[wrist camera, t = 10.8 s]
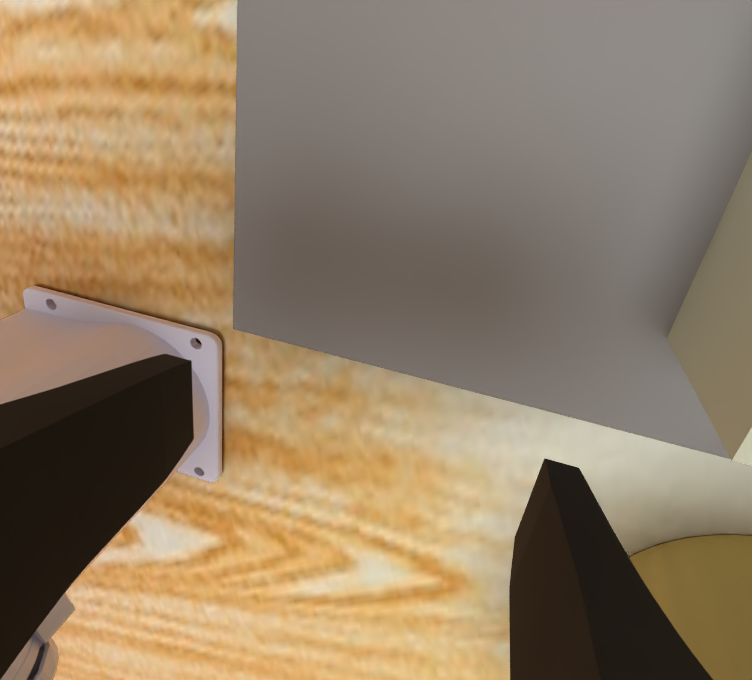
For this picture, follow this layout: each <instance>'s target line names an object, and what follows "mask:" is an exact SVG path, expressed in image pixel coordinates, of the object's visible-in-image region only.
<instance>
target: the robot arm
mask: <svg viewBox="0 0 752 680" xmlns="http://www.w3.org/2000/svg"><path fill="white" fill-rule="evenodd" d="M23 299H24V304H25V309H24V310H21V311H19V312H17V313H15V314H12V315H10V316H8V317H6V318H3V319H1V320H0V680H53V679H54V676H55V673H56V670H57V665H58V659H59V655H58V648H57V646H56V644H55V642H54V641H53V639H52V638H51V637H52V636H53V635H54V634H55V632H56V631H57V630H58V629H59V628H60V627H61V625H62V624H63V623H64V622H65V621H66V620H67V619H68V617H69V616H70V615H71V614H72V613H73V612H74V610H75V607H74V605H73V604H72V603H71V601H70V600H69V598H68V597H67V595H66V593H65V592H66V591H67V589H68V588H69V587H70V586H71V585H72V584H73V583H74V582H75V581H76V580H77V579H78V577H79V576H80V575H81V574H82V573H83V572H84V571H85V570H86V569H87V568H88V567H89V566H90V564H91V563H92V562H93V561H94V560H95V559H96V558H97V557H98V556H99V555H100V554H101V552H102V551H103V550H104V549H105V548H106V547H107V546H108V545H109V544H110V543H111V542H112V540H113V539H114V538H115V537H116V536H117V535H118V534H119V533H120V532H121V531H122V530H123V529H124V527H125V526H126V525H127V524H128V523H129V522H130V521H131V520H132V519H133V518H134V517H135V515H136V514H137V513H138V512H139V511H140V510H141V509H142V508H143V507H144V506H145V505H146V503H147V502H148V501H149V500H150V499H151V498H152V497H153V496H154V495H155V494H156V493H157V492H158V490H159V489H160V488H161V487H162V486H163V485H164V484H165V483H166V482H167V481H168V480H169V478H170V477H171V476H172V475H173V474H174V473H175V472H180V473H183V474H186V475H189V476H192V477H195V478H198V479H202V480H205V481H208V482H216V481H217V480H218V479H219V478H220V477H221V475H222V342H221V340H220V338H219V337H218V336H217V335H216V334H214V333H212V332H208V331H205V330H201V329H197V328H193V327H189V326H186V325H182V324H178V323H174V322H171V321H167V320H163V319H159V318H155V317H152V316H148V315H144V314H140V313H137V312H133V311H129V310H125V309H122V308H118V307H114V306H110V305H106V304H103V303H99V302H95V301H91V300H88V299H84V298H80V297H76V296H72V295H69V294H65V293H61V292H57V291H54V290H50V289H46V288H42V287H38V286H31V287H29V288H26V289H25V290H24V291H23ZM54 302H55V303H56V304H55V303H54ZM196 338H197V339H199V340H200V342H201V344H202V345H200V344H198V342H197V341H196ZM510 679H511V680H713V679H712V678H711V676H710V675H709V674H708V672H707V671H706V670H705V669H704V667H703V666H702V665H701V663H700V662H699V661H698V659H697V658H696V657H695V655H694V654H693V653H692V652H691V650H690V649H689V647H688V646H687V645H686V643H685V642H684V641H683V639H682V638H681V636H680V635H679V634H678V632H677V631H676V629H675V628H674V627H673V625H672V624H671V622H670V621H669V619H668V618H667V616H666V615H665V613H664V612H663V610H662V609H661V607H660V606H659V604H658V603H657V601H656V600H655V598H654V597H653V595H652V594H651V592H650V591H649V589H648V588H647V586H646V584H645V583H644V581H643V580H642V578H641V577H640V575H639V573H638V572H637V570H636V568H635V567H634V565H633V563H632V562H631V560H630V558H629V557H628V555H627V553H626V552H625V550H624V548H623V547H622V545H621V543H620V542H619V540H618V538H617V536H616V535H615V533H614V531H613V529H612V527H611V526H610V524H609V522H608V520H607V518H606V517H605V515H604V513H603V511H602V509H601V508H600V506H599V504H598V502H597V500H596V498H595V497H594V495H593V493H592V491H591V489H590V487H589V485H588V483H587V482H586V480H585V478H584V476H583V474H582V473H581V471H580V469H579V468H577V467H574V466H570V465H566V464H563V463H559V462H555V461H552V460H548V459H544V461H543V464H542V467H541V469H540V472H539V475H538V477H537V480H536V483H535V485H534V488H533V491H532V493H531V496H530V499H529V501H528V504H527V507H526V509H525V512H524V514H523V517H522V520H521V522H520V525H519V528H518V530H517V533H516V536H515V542H514V550H513V559H512V569H511V579H510Z"/></svg>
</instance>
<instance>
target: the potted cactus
mask: <svg viewBox="0 0 752 680" xmlns="http://www.w3.org/2000/svg"><path fill="white" fill-rule="evenodd" d="M629 558H630V560H631V562H632V563H633V565H634V567H635V568H636V570H637V572H638V573H639V575H640V577H641V578H642V580H643V581H644V583H645V584H646V586H647V588H648V589H649V591H650V592H651V594H652V595H653V597H654V598H655V600H656V601H657V603H658V604H659V606H660V607H661V609H662V610H663V612H664V613H665V615H666V616H667V618H668V619H669V621H670V622H671V624H672V625H673V627H674V628H675V629H676V631H677V632H678V634H679V635H680V636H681V638H682V639H683V641H684V642H685V643H686V645H687V646H688V647H689V649H690V650H691V652H692V653H693V654H694V655H695V657H696V658H697V659H698V661H699V662H700V663H701V665H702V666H703V667H704V669H705V670H706V671H707V672H708V674H709V675H710V676H711V678H712V679H713V680H752V536H747V535H710V536H699V537H690V538H685V539H680V540H675V541H671V542H667V543H663V544H660V545H657V546H654V547H651V548H649V549H646V550H644V551H641V552H639V553H637V554H635V555H633V556H631V557H629Z"/></svg>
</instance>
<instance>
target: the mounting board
mask: <svg viewBox="0 0 752 680" xmlns="http://www.w3.org/2000/svg"><path fill="white" fill-rule="evenodd" d="M751 152H752V0H238V5H237V81H236V157H235V232H234V308H233V329H236V330H239V331H243V332H247V333H251V334H255V335H259V336H262V337H266V338H270V339H274V340H278V341H282V342H285V343H289V344H293V345H297V346H301V347H304V348H308V349H312V350H316V351H320V352H324V353H327V354H331V355H335V356H339V357H343V358H347V359H350V360H354V361H358V362H362V363H366V364H369V365H373V366H377V367H381V368H385V369H389V370H392V371H396V372H400V373H404V374H408V375H412V376H415V377H419V378H423V379H427V380H431V381H434V382H438V383H442V384H446V385H450V386H454V387H457V388H461V389H465V390H469V391H473V392H476V393H480V394H484V395H488V396H492V397H496V398H499V399H503V400H507V401H511V402H515V403H519V404H522V405H526V406H530V407H534V408H538V409H541V410H545V411H549V412H553V413H557V414H561V415H564V416H568V417H572V418H576V419H580V420H584V421H587V422H591V423H595V424H599V425H603V426H606V427H610V428H614V429H618V430H622V431H626V432H629V433H633V434H637V435H641V436H645V437H649V438H652V439H656V440H660V441H664V442H668V443H671V444H675V445H679V446H683V447H687V448H691V449H694V450H698V451H702V452H706V453H710V454H714V455H717V456H721V457H725V458H729V459H730V457H729V455H728V453H727V451H726V449H725V447H724V445H723V444H722V442H721V440H720V438H719V436H718V434H717V432H716V430H715V428H714V427H713V425H712V423H711V421H710V419H709V417H708V415H707V413H706V411H705V410H704V408H703V406H702V404H701V402H700V400H699V398H698V396H697V394H696V392H695V391H694V389H693V387H692V385H691V383H690V381H689V379H688V377H687V375H686V374H685V372H684V370H683V368H682V366H681V364H680V362H679V360H678V358H677V356H676V355H675V353H674V351H673V349H672V347H671V345H670V343H669V341H668V339H667V336H668V334H669V332H670V330H671V328H672V325H673V323H674V321H675V319H676V317H677V314H678V312H679V310H680V308H681V306H682V303H683V301H684V299H685V297H686V295H687V293H688V290H689V288H690V286H691V284H692V282H693V279H694V277H695V275H696V273H697V271H698V268H699V266H700V264H701V262H702V260H703V257H704V255H705V253H706V251H707V249H708V246H709V244H710V242H711V240H712V238H713V235H714V233H715V231H716V229H717V227H718V224H719V222H720V220H721V218H722V216H723V214H724V211H725V209H726V207H727V205H728V203H729V200H730V198H731V196H732V194H733V192H734V189H735V187H736V185H737V183H738V181H739V178H740V176H741V174H742V172H743V170H744V167H745V165H746V163H747V161H748V159H749V156H750V154H751Z"/></svg>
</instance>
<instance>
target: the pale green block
mask: <svg viewBox="0 0 752 680" xmlns="http://www.w3.org/2000/svg"><path fill="white" fill-rule="evenodd" d="M667 339H668V341H669V343H670V345H671V347H672V349H673V351H674V353H675V355H676V356H677V358H678V360H679V362H680V364H681V366H682V368H683V370H684V372H685V374H686V375H687V377H688V379H689V381H690V383H691V385H692V387H693V389H694V391H695V392H696V394H697V396H698V398H699V400H700V402H701V404H702V406H703V408H704V410H705V411H706V413H707V415H708V417H709V419H710V421H711V423H712V425H713V427H714V428H715V430H716V432H717V434H718V436H719V438H720V440H721V442H722V444H723V445H724V447H725V449H726V451H727V453H728V455H729V457H730V459H731V461H734V462H738V463H742V464H746V465H749V466H752V152H751V154H750V156H749V159H748V161H747V163H746V165H745V167H744V170H743V172H742V174H741V176H740V178H739V181H738V183H737V185H736V187H735V189H734V192H733V194H732V196H731V198H730V200H729V203H728V205H727V207H726V209H725V211H724V214H723V216H722V218H721V220H720V222H719V224H718V227H717V229H716V231H715V233H714V235H713V238H712V240H711V242H710V244H709V246H708V249H707V251H706V253H705V255H704V257H703V260H702V262H701V264H700V266H699V268H698V271H697V273H696V275H695V277H694V279H693V282H692V284H691V286H690V288H689V290H688V293H687V295H686V297H685V299H684V301H683V303H682V306H681V308H680V310H679V312H678V314H677V317H676V319H675V321H674V323H673V325H672V328H671V330H670V332H669V334H668V336H667Z"/></svg>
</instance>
